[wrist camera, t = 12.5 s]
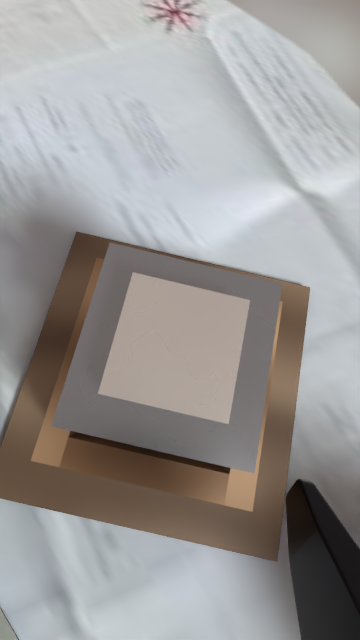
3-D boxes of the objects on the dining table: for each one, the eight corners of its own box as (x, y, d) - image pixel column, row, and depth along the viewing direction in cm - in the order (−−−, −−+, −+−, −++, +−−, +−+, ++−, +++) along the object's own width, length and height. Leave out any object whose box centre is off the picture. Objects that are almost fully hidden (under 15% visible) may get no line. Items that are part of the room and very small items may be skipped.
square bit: (190, 420, 17) (265, 482, 5) (123, 404, 17) (38, 429, 5) (204, 353, 18) (294, 272, 6) (141, 338, 18) (105, 227, 6)
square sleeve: (273, 556, 16) (321, 624, 12) (-12, 491, 16) (-84, 533, 11) (306, 290, 20) (352, 257, 16) (78, 235, 20) (53, 185, 15)
